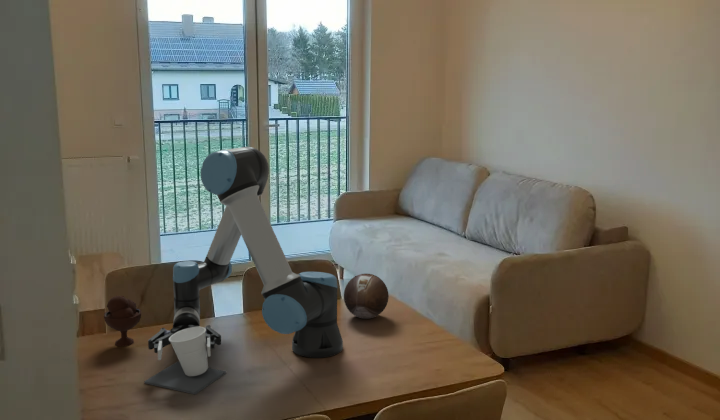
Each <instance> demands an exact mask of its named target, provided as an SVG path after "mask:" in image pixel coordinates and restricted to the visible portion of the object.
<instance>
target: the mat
mask: <svg viewBox="0 0 720 420" xmlns="http://www.w3.org/2000/svg"><path fill="white" fill-rule="evenodd" d="M225 374H227V371H226V370H222V369H217V368H212V367H208V369H207V370H206V371H205V372H204V373H202V374H200V375H197V376H192V377H190V376H187V375H185V373H184V371H183V368H182V366H181V364H180V362H179V360H178V361H176V362H174V363H173V364H170V366H167V367H165V368H164V369H163V370H161V371H158V372H157V373H156V374H155V375H152V376H151V377H148V378H147V379H146V380H144V384H146V385H150V386H155V387H160V388H164V389H168V390H169V389H170V390H174V391H179V392H182V393H187V394H191V395H197V394H198V393H200V392H201V391H202V390H204V389H205V388H207V387H208V386H210V385H211V384H212V383H214V382H215V381H217V380H219V379H220V378H221V377H223V376H224V375H225Z"/></svg>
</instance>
